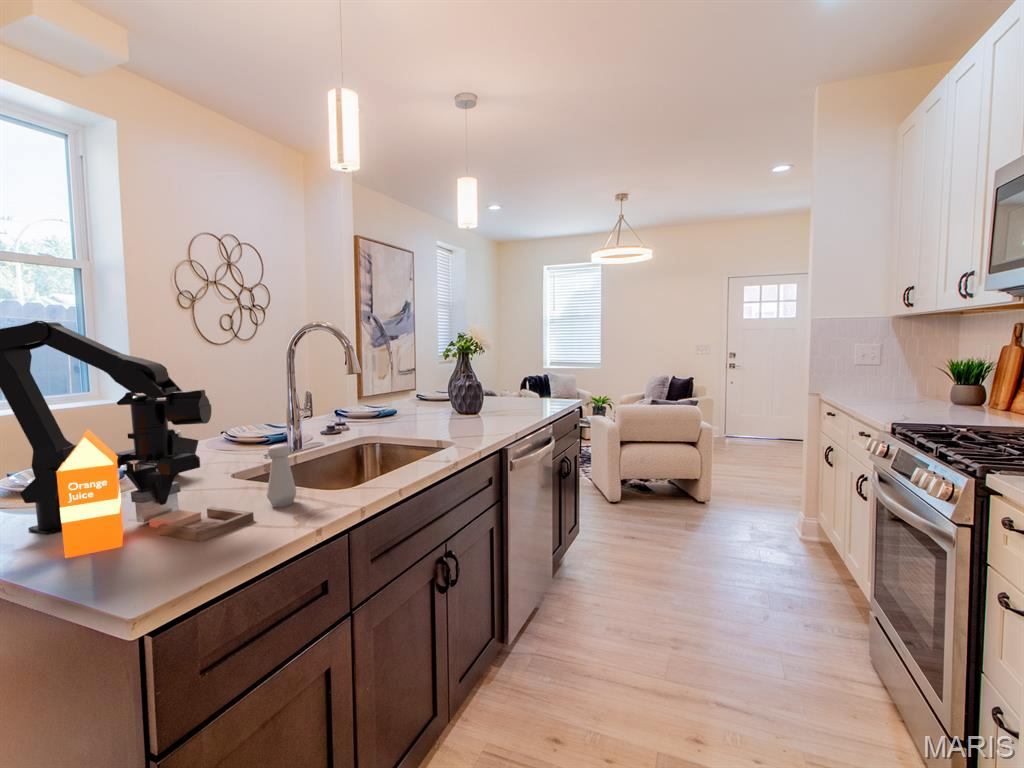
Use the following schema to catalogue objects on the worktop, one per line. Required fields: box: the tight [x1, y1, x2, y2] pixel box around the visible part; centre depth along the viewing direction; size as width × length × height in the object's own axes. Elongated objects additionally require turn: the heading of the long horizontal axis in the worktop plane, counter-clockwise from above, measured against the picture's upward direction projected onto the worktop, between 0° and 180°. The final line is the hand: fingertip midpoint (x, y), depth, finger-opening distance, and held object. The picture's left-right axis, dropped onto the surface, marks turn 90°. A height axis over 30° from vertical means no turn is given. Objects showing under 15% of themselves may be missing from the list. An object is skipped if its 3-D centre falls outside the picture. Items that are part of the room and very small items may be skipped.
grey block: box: [130, 481, 181, 524], centre depth 101 cm, size 3×8×6 cm, turn 160°
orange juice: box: [56, 429, 125, 559], centre depth 88 cm, size 8×9×20 cm
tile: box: [148, 509, 202, 528], centre depth 99 cm, size 6×6×2 cm
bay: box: [156, 506, 255, 543], centre depth 96 cm, size 11×11×2 cm
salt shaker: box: [266, 443, 297, 508], centre depth 109 cm, size 6×6×13 cm
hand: (157, 503), depth 101 cm, fingers closed on grey block, 3 cm apart
